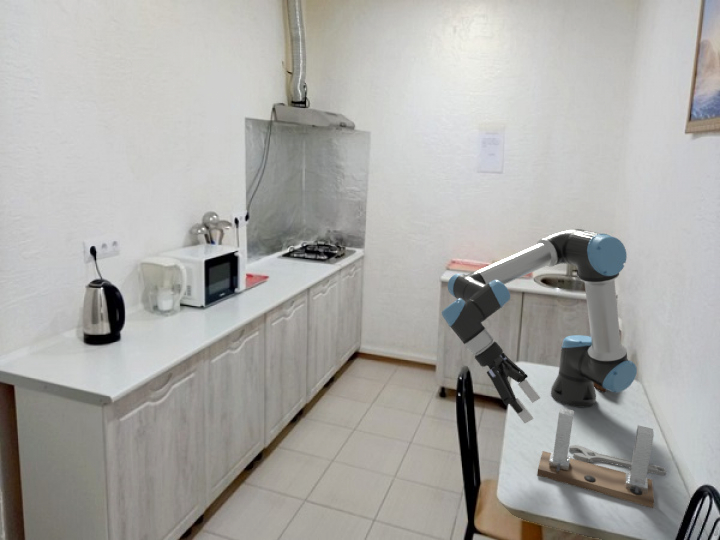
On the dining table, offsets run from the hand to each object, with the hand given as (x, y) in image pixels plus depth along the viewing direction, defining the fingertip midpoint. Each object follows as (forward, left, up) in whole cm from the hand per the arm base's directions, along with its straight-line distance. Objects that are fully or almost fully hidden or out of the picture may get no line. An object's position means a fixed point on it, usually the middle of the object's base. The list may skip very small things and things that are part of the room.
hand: (533, 410), depth 146 cm
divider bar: (-1, +17, -16) cm, 24 cm away
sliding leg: (0, +8, -14) cm, 16 cm away
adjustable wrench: (-13, +23, -17) cm, 31 cm away
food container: (-68, +16, -17) cm, 71 cm away
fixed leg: (0, +27, -14) cm, 31 cm away
